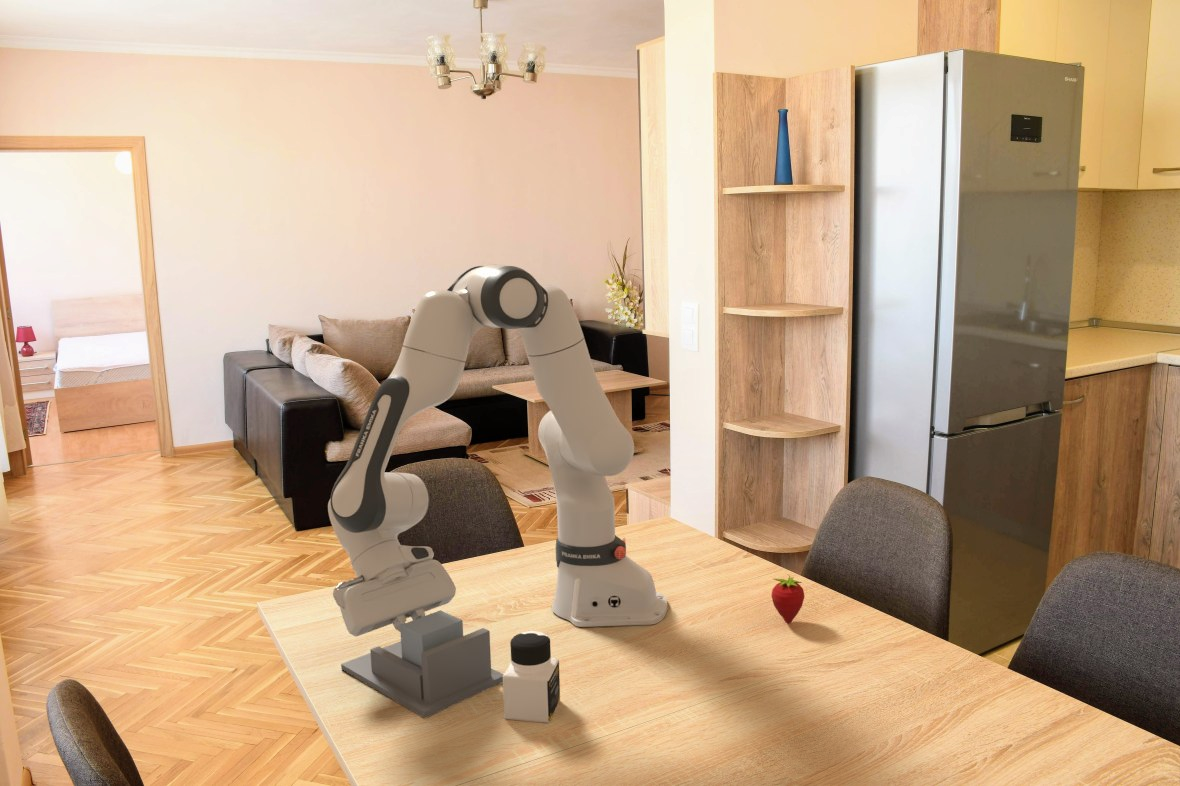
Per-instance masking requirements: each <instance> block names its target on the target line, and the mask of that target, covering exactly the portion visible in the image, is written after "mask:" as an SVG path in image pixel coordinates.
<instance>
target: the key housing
mask: <svg viewBox="0 0 1180 786" xmlns="http://www.w3.org/2000/svg"><path fill="white" fill-rule="evenodd" d="M490 634H491V633H490V630H489V629H488V628H487V629H486V628H484V627H482V628H480V629H477V630H475V631H471V632H470V633H467V634H465V635H463V636H462V637H460V638H457V639H455V640H452V641H450V642H447V643H445V644H442V645H440V646H437V647H435V648H432V649H430V650H427V651H425V652H422V653H421V658H422V669H421V668H419V667H417V666H415V665H414V664H412V663H410V662H408V661H406V660H404V659H402V649H401V640H400V641H398V642H395V643H392V644H389V645H387V646H385V647H381V646H375V647H373V648H371V649H370V652H368V653H366V654H364V655H361V656H359V657H356V658H354V659H351V660H348V661H345V662H343V663H341V665H340V666H341V669H342V670H341V671H343V670H344V671H343V672H345V671H346V672H347V673H346V672H345V673H346V674H348V673H349V674H348V675H350V674H351V675H350V676H352V675H353V676H354V677H353V676H352V677H353V678H355V677H356V678H355V679H357V678H358V679H359V680H358V679H357V680H358V681H361V682H362V683H363V684H365V683H366V684H365V685H367V686H368V687H371V688H373V689H374V690H375V691H377V690H378V691H377V692H379V693H380V694H383V695H384V696H385V697H387V698H389V699H391V700H393V701H394V702H396V703H398V704H400V705H402V706H403V707H405V708H407V709H408V710H409V711H411V712H414V713H415V714H417V715H419V716H420V717H422V718H423V719H426V718H429V717H431V716H433V715H435V714H438V713H439V712H441V711H444V710H446V709H448V708H450V707H452V706H454V705H456V704H460V703H461V702H463V701H465V700H467V699H469V698H471V697H473V696H476V695H478V694H480V693H482V692H484V691H487V690H489V689H490V688H491V689H492V688H493V687H496V686H497V685H500V684H503V675H504V674H503V673H502V672H499V671H498V670H495V669H493V668H492V658H491V656H492V653H491V638H490V636H491V635H490Z"/></svg>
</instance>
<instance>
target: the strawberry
mask: <svg viewBox="0 0 1180 786" xmlns="http://www.w3.org/2000/svg"><path fill="white" fill-rule="evenodd" d="M788 576H789V577H788V578H787V579H784V578H773V580H775V581H778V583H776V584H775V585H774V586H773V588H772V590H771V594H770V595H771V600H772V603H773V606H774V608H775V610H776V611H777V612H778V614H779V615H780V616H781V618H782V619H783V620H784V622H785V623H787V624H790V623H792V622H793V621H794V619H795V618H796V616H797V615H798V614H799V612H800V611H801V608H802V607H803V603H804V602H805V601H804V600H805V591H804V589H803V587H802V586H801V584H802V583H803V582H802V581H798V580H795V579H794V577H791V575H788Z"/></svg>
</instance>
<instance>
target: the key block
mask: <svg viewBox="0 0 1180 786" xmlns="http://www.w3.org/2000/svg"><path fill="white" fill-rule="evenodd" d="M463 622H464V621H463V619H462V618H458V617H457V616H454V615H452V614H449V613H448V612H445V611H443V610H437V611H434V612H432V613H430V614H425V616H424V617H421V618H418V619H416V620H413V619H412V620H411V621H408V622H405V624H402V625H400V632H399V633H400V641H401V649H402V659H404V660H406V661H408V662H410V663H412V664H414V665H415V666H417V667H419V668H421V669H422V658H421V653H422V652H425V651H427V650H430V649H432V648H435V647H437V646H440V645H442V644H445V643H447V642H450V641H452V640H455V639H457V638H460V637H462V636H464V629H463V628H464V625H463Z"/></svg>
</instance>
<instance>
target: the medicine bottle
mask: <svg viewBox="0 0 1180 786" xmlns="http://www.w3.org/2000/svg"><path fill="white" fill-rule="evenodd" d="M509 644H510V664H509V665H508V666H507V669H506V670H505V672H504V675H503V682H502V691H503V692H502V694H503V695H502V696H503V715H504V719H505V720H509V721H512V720H513V721H520V722H522V721H524V722H533V723H534V722H535V723H543V724H544V723H545V724H546V723H547V724H548V723H550V722H551V721H552V718H553V716H554V714H555V712H556V710H557V707H558V706H559V703H560V701H561V685H560V660H559V659H558V658H557V657H556V658H555V657H552V656H551V655H552V653H551V639H550V637H549V636H548V635H547V634H546V633H544V632H541V631H535V630H533V631H532V630H530V631H529V630H528V631H523V632H520V633H518V634H516V635H514V636H513V637H512V638H511V640H510V643H509Z"/></svg>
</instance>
